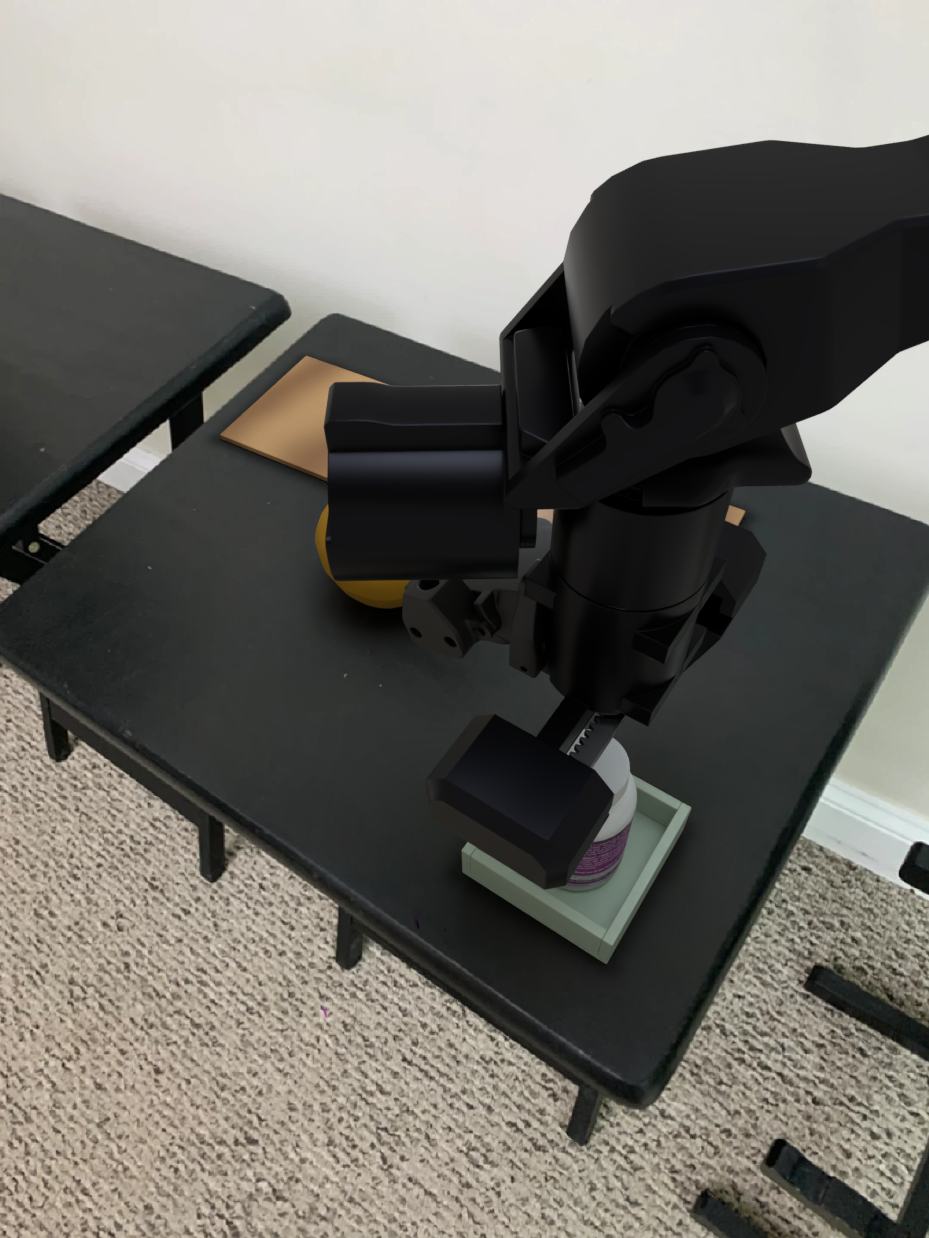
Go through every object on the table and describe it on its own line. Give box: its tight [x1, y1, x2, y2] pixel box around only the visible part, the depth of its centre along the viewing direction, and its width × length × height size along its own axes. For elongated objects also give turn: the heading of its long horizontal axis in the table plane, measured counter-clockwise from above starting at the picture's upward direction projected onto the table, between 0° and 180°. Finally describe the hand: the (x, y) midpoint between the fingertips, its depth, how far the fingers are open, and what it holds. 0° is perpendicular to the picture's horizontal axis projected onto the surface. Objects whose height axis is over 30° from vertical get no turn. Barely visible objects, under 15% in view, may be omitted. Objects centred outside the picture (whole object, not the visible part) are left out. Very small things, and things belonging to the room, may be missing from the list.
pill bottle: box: [560, 728, 637, 891], centre depth 49 cm, size 5×5×10 cm
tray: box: [461, 774, 692, 965], centre depth 52 cm, size 9×9×3 cm
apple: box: [314, 504, 410, 610], centre depth 61 cm, size 9×9×9 cm
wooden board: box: [219, 355, 746, 526], centre depth 72 cm, size 40×12×1 cm, turn 60°
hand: (591, 766), depth 45 cm, fingers open, 9 cm apart
